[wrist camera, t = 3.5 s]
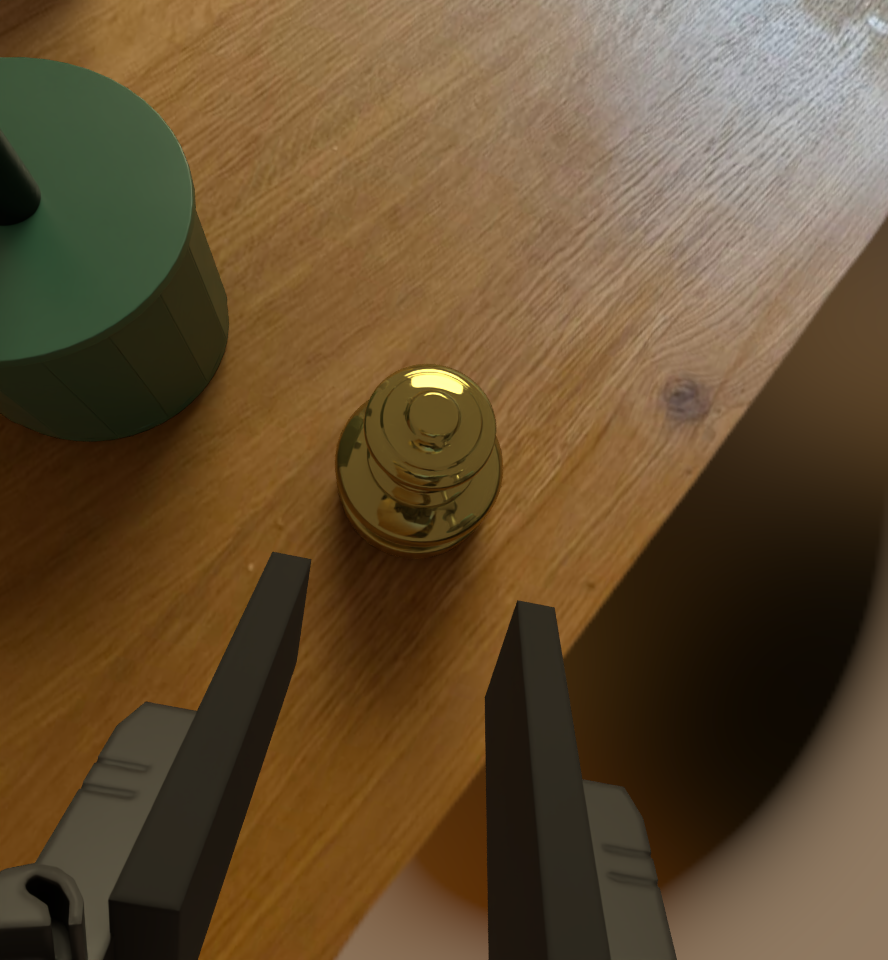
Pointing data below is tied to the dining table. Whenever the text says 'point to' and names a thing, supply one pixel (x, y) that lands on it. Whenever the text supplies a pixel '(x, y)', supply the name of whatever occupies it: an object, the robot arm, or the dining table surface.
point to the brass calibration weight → (420, 462)
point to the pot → (130, 363)
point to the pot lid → (83, 208)
